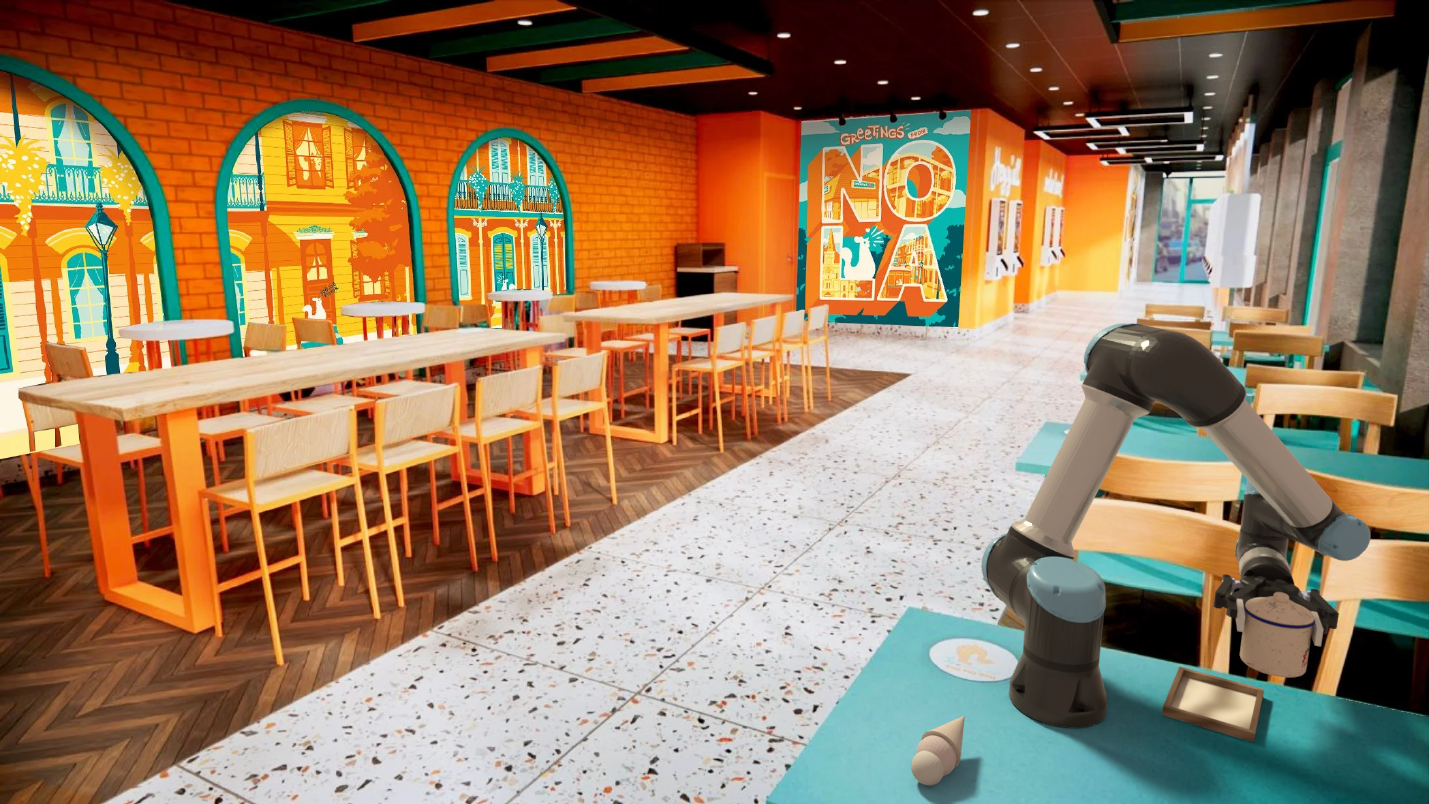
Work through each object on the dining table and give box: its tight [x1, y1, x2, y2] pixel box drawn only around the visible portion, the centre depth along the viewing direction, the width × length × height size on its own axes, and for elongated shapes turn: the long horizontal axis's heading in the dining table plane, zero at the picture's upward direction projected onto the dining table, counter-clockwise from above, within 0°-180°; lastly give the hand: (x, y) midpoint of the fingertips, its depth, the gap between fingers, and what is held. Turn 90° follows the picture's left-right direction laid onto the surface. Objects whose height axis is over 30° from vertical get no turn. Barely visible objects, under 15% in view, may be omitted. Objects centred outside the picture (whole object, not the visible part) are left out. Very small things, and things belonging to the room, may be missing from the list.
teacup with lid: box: [1239, 592, 1315, 678], centre depth 130 cm, size 12×9×12 cm
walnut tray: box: [1161, 666, 1265, 743], centre depth 138 cm, size 13×16×2 cm
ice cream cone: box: [910, 715, 966, 786], centre depth 123 cm, size 6×6×15 cm
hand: (1279, 630), depth 126 cm, fingers closed on teacup with lid, 9 cm apart
